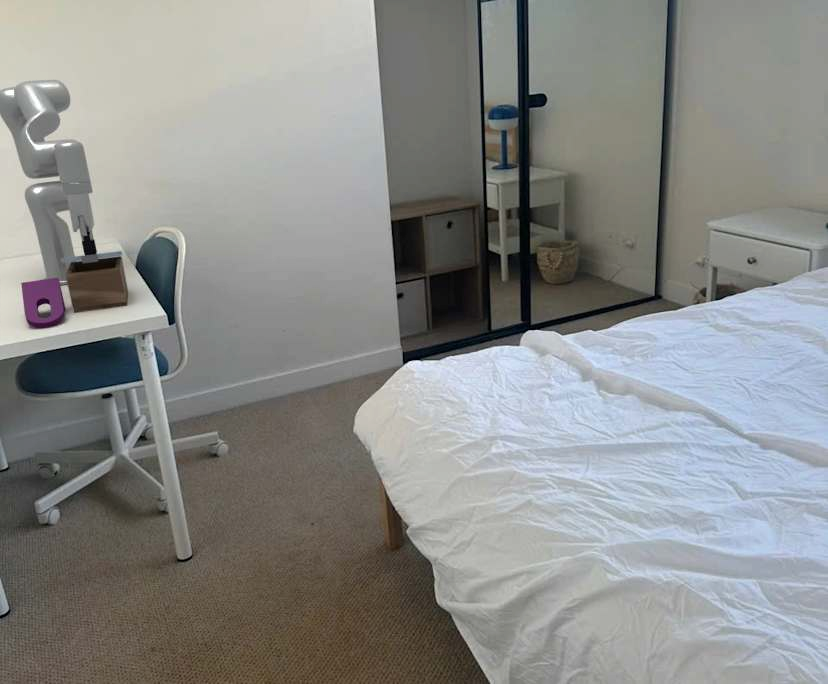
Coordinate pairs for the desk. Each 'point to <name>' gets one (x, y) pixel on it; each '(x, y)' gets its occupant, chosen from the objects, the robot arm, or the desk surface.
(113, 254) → the lid
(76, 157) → the robot arm
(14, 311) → the desk surface
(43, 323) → the mounting bracket
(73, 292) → the storage box
